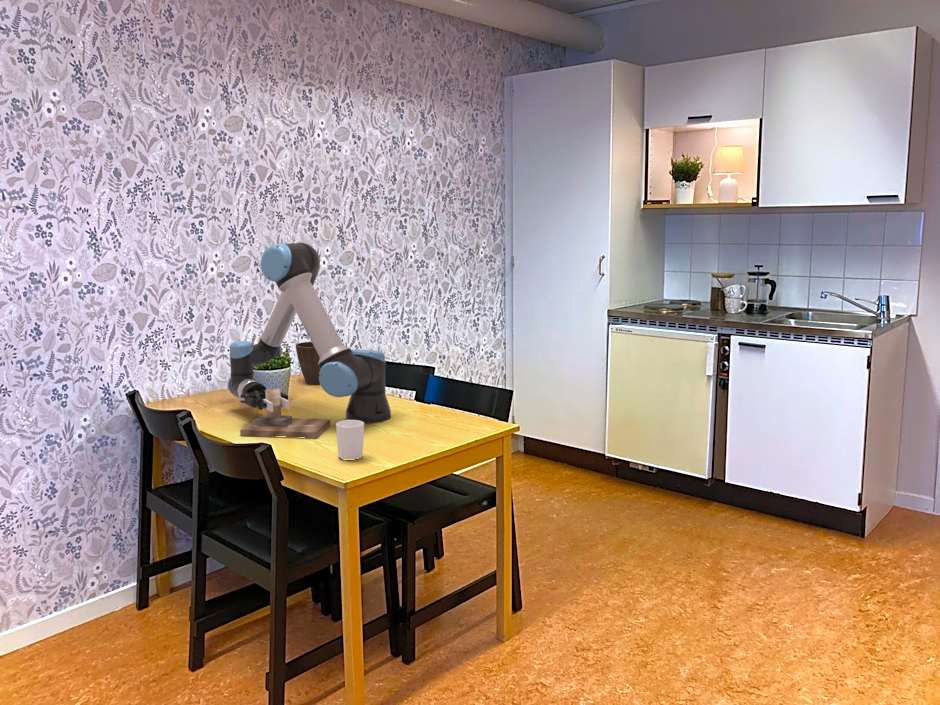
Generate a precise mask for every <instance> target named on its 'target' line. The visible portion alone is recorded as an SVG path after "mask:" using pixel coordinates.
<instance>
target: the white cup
mask: <svg viewBox="0 0 940 705" xmlns="http://www.w3.org/2000/svg"><path fill="white" fill-rule="evenodd" d="M335 430H336V431H335V433H336V444H337V452H338V453H337V454H338V456H339V457H340V458H343V459H357V458H360V457H362V455H363V456H364V454H363V453H364V439H365V436H364V435H365V422H362V421H359V420H348V419H345V420H340V421H337V422H335ZM339 457H338V458H339ZM362 458H363V457H362Z"/></svg>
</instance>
